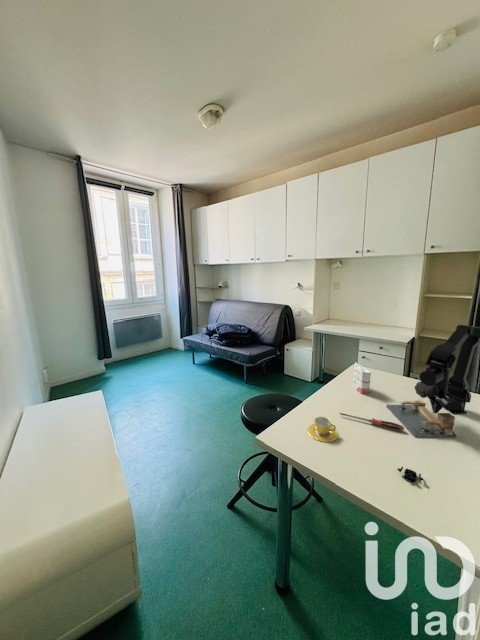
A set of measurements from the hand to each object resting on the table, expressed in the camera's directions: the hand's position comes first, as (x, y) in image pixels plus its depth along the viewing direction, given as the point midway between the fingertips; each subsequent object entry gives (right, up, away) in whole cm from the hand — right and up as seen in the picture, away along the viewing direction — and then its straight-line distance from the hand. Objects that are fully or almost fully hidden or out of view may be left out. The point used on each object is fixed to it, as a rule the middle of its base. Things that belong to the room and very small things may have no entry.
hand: (434, 413), depth 108 cm
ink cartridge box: (-16, +1, +31) cm, 35 cm away
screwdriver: (-26, -6, +2) cm, 27 cm away
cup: (-48, -8, -2) cm, 49 cm away
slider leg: (-3, -5, -5) cm, 8 cm away
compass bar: (-3, -3, +3) cm, 5 cm away
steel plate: (-5, -4, +3) cm, 7 cm away
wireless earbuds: (-27, -12, -25) cm, 39 cm away
